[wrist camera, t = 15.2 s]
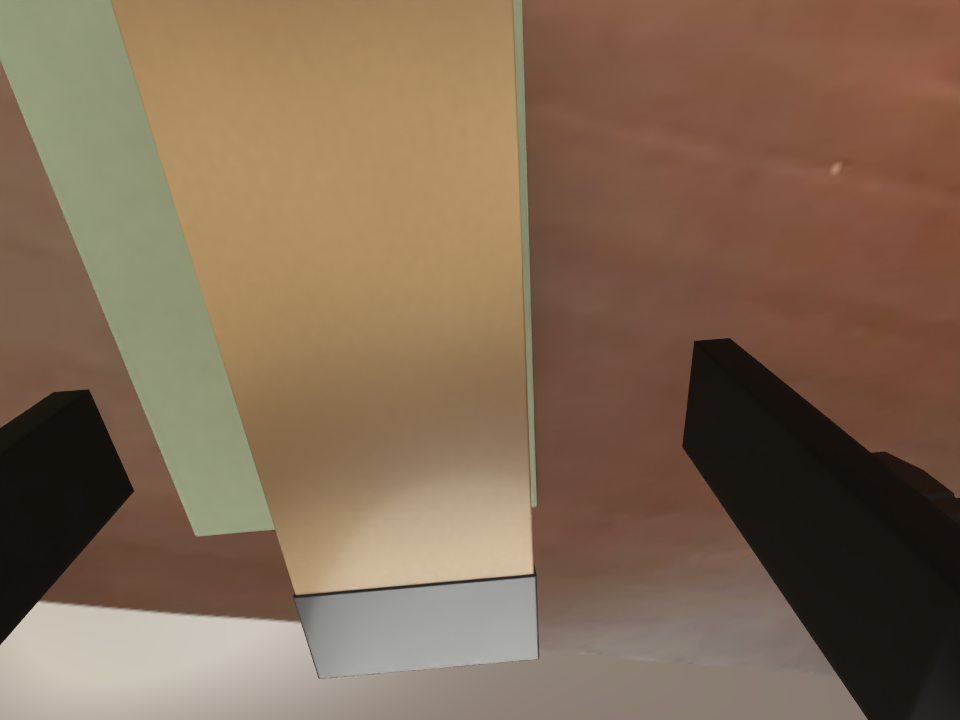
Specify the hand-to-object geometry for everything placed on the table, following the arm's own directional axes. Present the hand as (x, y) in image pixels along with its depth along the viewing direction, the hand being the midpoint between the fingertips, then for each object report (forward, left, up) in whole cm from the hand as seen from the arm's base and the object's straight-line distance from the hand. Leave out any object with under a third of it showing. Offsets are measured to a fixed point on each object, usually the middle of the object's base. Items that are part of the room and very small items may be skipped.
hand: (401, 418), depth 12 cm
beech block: (0, 0, -6) cm, 6 cm away
